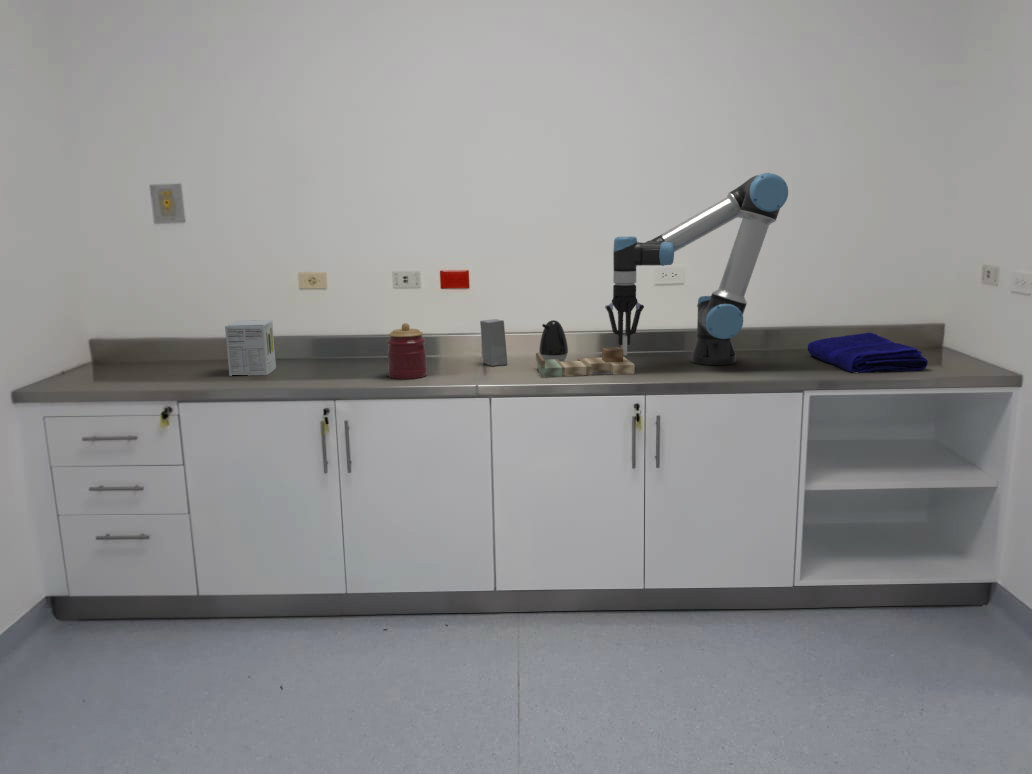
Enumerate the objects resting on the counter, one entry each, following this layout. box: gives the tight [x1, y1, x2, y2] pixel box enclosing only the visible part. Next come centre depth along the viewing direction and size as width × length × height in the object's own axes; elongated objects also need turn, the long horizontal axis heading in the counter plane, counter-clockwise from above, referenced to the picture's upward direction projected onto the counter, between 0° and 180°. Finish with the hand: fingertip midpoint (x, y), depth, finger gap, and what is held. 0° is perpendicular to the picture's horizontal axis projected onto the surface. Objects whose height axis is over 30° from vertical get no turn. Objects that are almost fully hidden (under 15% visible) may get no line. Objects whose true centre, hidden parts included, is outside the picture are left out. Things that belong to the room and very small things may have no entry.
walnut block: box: [601, 346, 624, 363], centre depth 277 cm, size 6×6×4 cm
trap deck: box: [535, 352, 636, 378], centre depth 275 cm, size 30×16×6 cm, turn 96°
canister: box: [386, 322, 428, 380], centre depth 272 cm, size 13×13×18 cm
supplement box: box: [224, 319, 277, 377], centre depth 285 cm, size 13×13×18 cm
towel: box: [807, 332, 929, 374], centre depth 279 cm, size 26×36×9 cm
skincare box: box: [479, 318, 508, 367], centre depth 291 cm, size 8×7×16 cm
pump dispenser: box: [538, 319, 569, 362], centre depth 291 cm, size 10×10×15 cm
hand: (623, 354), depth 276 cm, fingers closed
